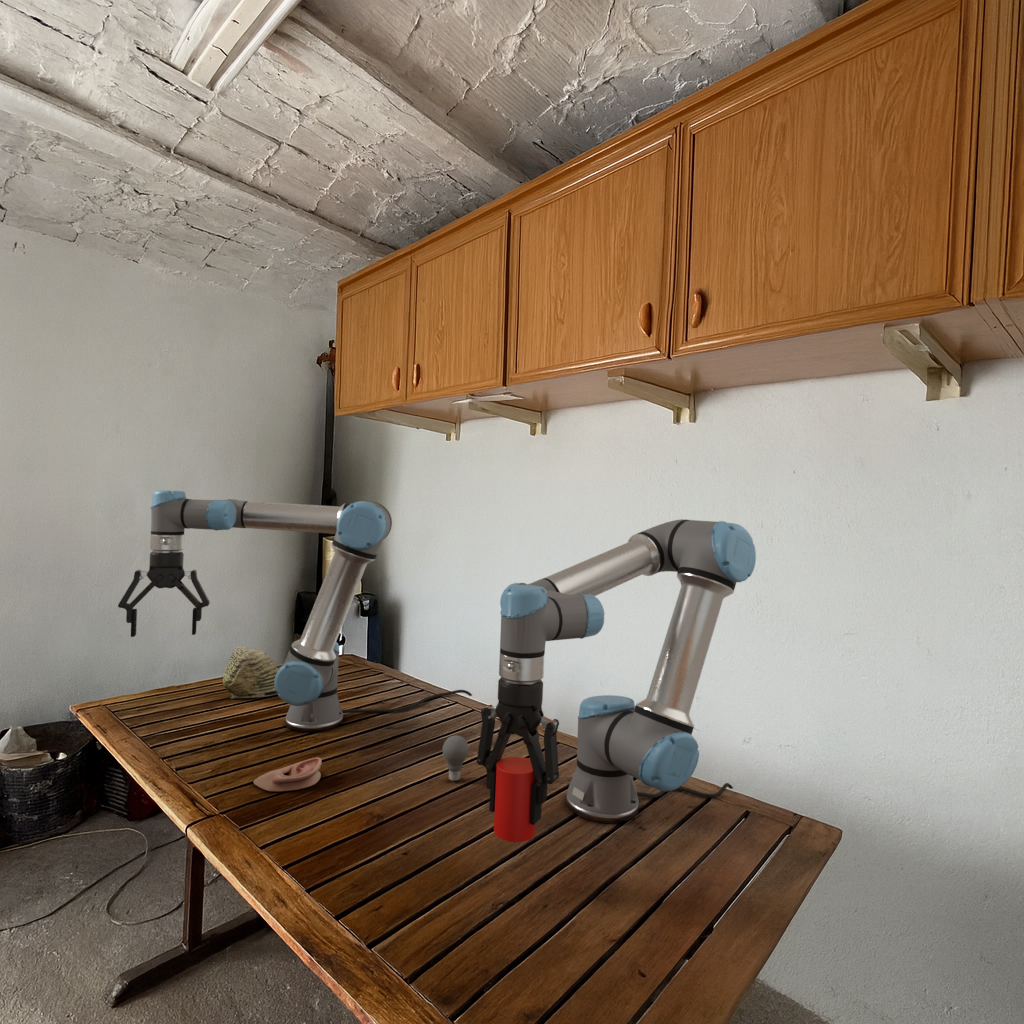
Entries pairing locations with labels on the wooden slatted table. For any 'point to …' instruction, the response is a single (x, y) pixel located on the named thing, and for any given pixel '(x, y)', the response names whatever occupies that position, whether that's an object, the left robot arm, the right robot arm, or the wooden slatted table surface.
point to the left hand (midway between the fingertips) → (164, 634)
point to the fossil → (250, 674)
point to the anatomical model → (291, 776)
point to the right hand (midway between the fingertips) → (514, 814)
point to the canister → (513, 799)
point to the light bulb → (455, 755)
